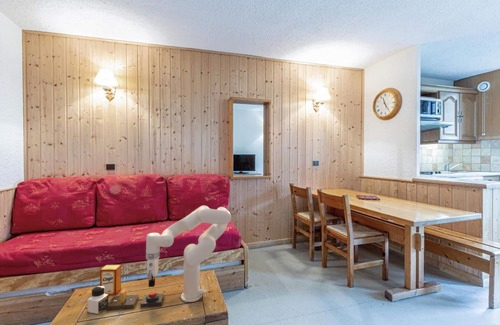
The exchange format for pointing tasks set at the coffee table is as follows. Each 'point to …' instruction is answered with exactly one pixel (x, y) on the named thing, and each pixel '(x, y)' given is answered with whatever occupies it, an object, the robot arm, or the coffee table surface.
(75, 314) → the coffee table surface
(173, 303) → the coffee table surface
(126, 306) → the plate
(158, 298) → the box
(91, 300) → the medicine bottle
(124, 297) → the orange block red tip
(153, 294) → the door button
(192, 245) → the robot arm
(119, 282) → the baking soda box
